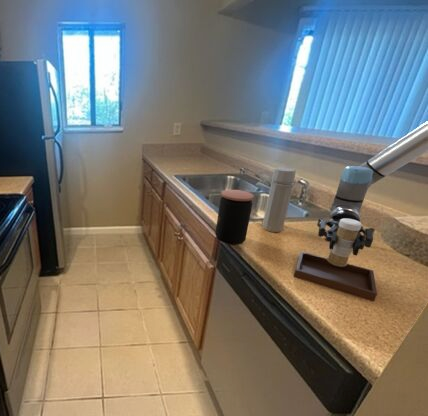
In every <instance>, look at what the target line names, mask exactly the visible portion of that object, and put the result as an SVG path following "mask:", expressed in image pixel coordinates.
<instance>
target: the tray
mask: <svg viewBox="0 0 428 416" xmlns="http://www.w3.org/2000/svg"><path fill="white" fill-rule="evenodd" d="M327 258H328V257H323V256H319V255H316V254H312V253H308V252H305V251H300V252H299V256H298V259H297V263H296V267H295V270H294V274H293V278H297V279H300V280H303V281H306V282H310V283H314V284H317V285H320V286H323V287H326V288H329V289H333V290H336V291H339V292H341V293H345V294H348V295H352V296H355V297H358V298H362V299H365V300H368V301H371V302H375V300H376V298H377V295H378V289H377V285H376V279H375V273H374V270H373V269H369V268H366V267H362V266H357V265H354V264H350V263H347V265H346V266H344V267H340V266H336V265H333V264H331V263H329V262H328V261H327Z"/></svg>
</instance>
